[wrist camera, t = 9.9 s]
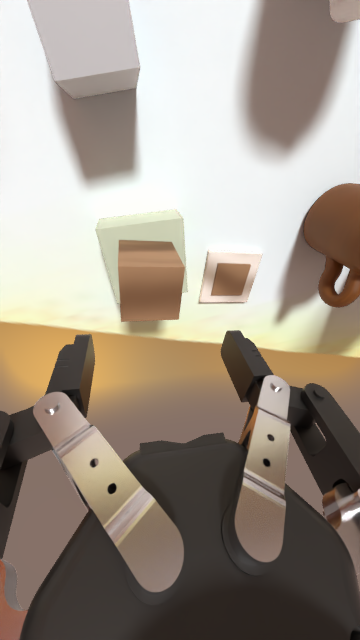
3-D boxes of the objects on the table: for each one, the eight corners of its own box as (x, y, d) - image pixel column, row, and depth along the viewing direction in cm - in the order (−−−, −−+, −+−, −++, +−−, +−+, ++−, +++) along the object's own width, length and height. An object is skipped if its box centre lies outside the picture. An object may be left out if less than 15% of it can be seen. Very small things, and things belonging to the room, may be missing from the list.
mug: (313, 282, 33) (366, 320, 26) (271, 272, 31) (316, 311, 23) (373, 193, 27) (467, 210, 19) (327, 172, 24) (414, 182, 17)
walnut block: (118, 239, 21) (117, 266, 16) (171, 241, 22) (185, 267, 17) (121, 287, 24) (121, 321, 19) (168, 287, 25) (178, 319, 20)
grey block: (39, -9, 15) (-2, -82, 10) (116, -19, 15) (111, -96, 10) (73, 99, 18) (54, 81, 13) (136, 88, 18) (140, 67, 13)
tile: (208, 250, 27) (210, 253, 26) (260, 252, 29) (263, 255, 28) (198, 300, 31) (200, 303, 31) (245, 299, 33) (247, 303, 32)
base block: (99, 218, 23) (95, 229, 20) (175, 208, 24) (183, 217, 21) (118, 286, 28) (117, 303, 25) (181, 276, 29) (187, 291, 26)
